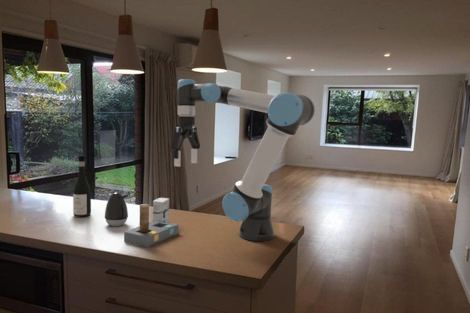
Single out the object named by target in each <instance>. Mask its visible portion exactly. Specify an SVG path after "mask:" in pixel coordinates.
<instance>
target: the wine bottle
mask: <svg viewBox="0 0 470 313" xmlns="http://www.w3.org/2000/svg"><path fill="white" fill-rule="evenodd" d="M77 158H78V159H77V160H78V176H77V179H76V182H75V184H74V187H73V192H72V204H73V205H72V208H73V209H72V210H73V211H72V212H73V216H74V217H75V218H86V217H89V216H90V215H91V214H92V191H91V187H90V184H89V183H88V180H87V178H86V170H85V167H86V166H85V159H86V156H85V155H81V154H80V155H78V156H77Z"/></svg>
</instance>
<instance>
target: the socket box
mask: <svg viewBox="0 0 470 313" xmlns="http://www.w3.org/2000/svg"><path fill="white" fill-rule="evenodd" d="M123 234H124V235H123V236H124V237H123V239H124V240H123V242H124V243H128V244H133V245H136V246H141V247H145V248H149V247H151V246H154V245H156V244H158V243H161V242H162V241H165V240H167V239H169V238H171V237H174V236H176V235H178V234H179V224H178V223H173V222H172V223H171V222H163V221H158V220H156V221H153V220H152V221H151V222H150V221H149V232H148V233H146V234H143V233H140V225H139V226H137V227H134V228H131V229H129V230H125V231H124V233H123Z"/></svg>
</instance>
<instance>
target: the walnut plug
mask: <svg viewBox="0 0 470 313" xmlns="http://www.w3.org/2000/svg"><path fill="white" fill-rule="evenodd" d="M149 223H150V204H149V203H142V204H139V226H140V233H143V234H146V233H148V232H149Z"/></svg>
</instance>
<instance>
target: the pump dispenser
mask: <svg viewBox="0 0 470 313" xmlns="http://www.w3.org/2000/svg"><path fill="white" fill-rule="evenodd" d="M125 198H129V194H128V193H126V194H122V193H121V192H117V191H116V192H113V193H112V194H110V196H109V198H108V200H107V203H106V206H105V210H104V219H105V222H106V223H107V225H109V226H111V227H121V226H123V225H125V224H126V222H127V220H128V218H129V213H128V211H129V210H128V207H127V206H128V205H127V202H126V200H125Z"/></svg>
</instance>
